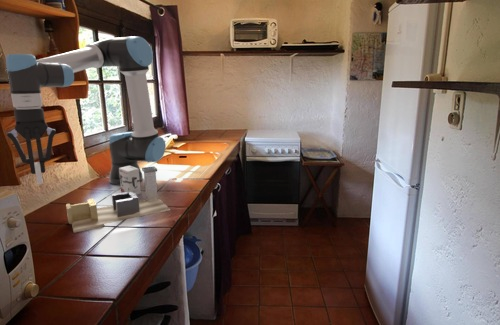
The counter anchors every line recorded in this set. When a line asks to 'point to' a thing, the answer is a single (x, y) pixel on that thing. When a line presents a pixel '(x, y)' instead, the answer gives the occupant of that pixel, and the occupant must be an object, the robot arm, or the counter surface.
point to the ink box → (129, 179)
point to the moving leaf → (82, 211)
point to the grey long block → (150, 183)
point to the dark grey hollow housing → (125, 203)
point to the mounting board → (111, 216)
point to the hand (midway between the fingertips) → (40, 183)
